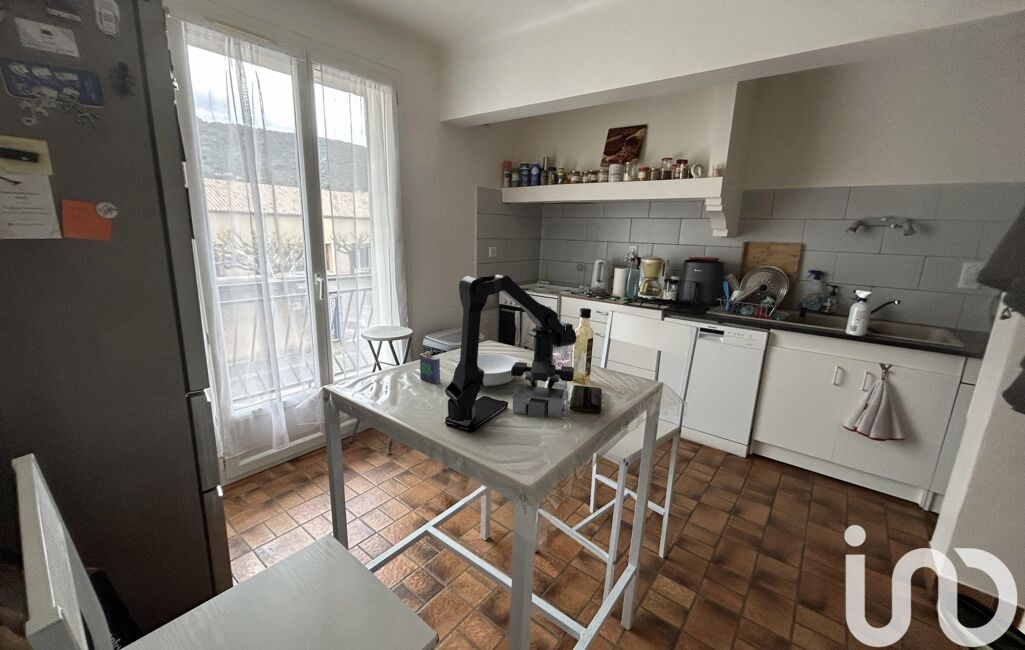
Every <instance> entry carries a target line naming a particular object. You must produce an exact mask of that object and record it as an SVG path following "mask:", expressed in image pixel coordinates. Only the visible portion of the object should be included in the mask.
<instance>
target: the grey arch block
mask: <svg viewBox="0 0 1025 650" xmlns="http://www.w3.org/2000/svg"><path fill="white" fill-rule="evenodd" d="M530 398H534V399H544V400H547V401H548V402H547V403H548V407H547V408H548V409H547V410H548V411H547V417H548V418H554V419H555V418H556V419H562V416H563V411H564V404H565V403H564V402H565V389H564V388H553V387H552V388H548V387H545V386H544V387H543V386H538V387H535V386H532V385H526V384H525V385H523V384H517V386H516V388H515V390H514V391H513V393H512V414H520V415H526V414H527V411H528V408H529V400H530Z"/></svg>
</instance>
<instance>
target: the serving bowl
mask: <svg viewBox="0 0 1025 650" xmlns="http://www.w3.org/2000/svg"><path fill="white" fill-rule="evenodd" d="M516 362H520V360H519V359H517V358H516V357H514V356H511V355H508V354H502V353H501V354H500V353H478V359H477V365H478V367H479V368H480V369H482V370H483V371H484V377H483V384H484V386H485V387H486V386H487V387H489V386H490V387H491V386H499V385H504V384H507V383H509V382H511V381H512V380H513V379H514V378H515V377H516V376H512V375H511V369H512V367H513V365H514V364H515V363H516Z"/></svg>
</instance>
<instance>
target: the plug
mask: <svg viewBox="0 0 1025 650" xmlns="http://www.w3.org/2000/svg"><path fill="white" fill-rule="evenodd" d="M547 401H548V400H544V399H534V398H530V400H529V407H528V409H527V411H528V414H527V415H528V417H532V418H541V419H543V418H545V415H546V412H547Z"/></svg>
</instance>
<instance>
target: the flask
mask: <svg viewBox="0 0 1025 650" xmlns="http://www.w3.org/2000/svg"><path fill="white" fill-rule="evenodd" d="M432 352H433V351H431V350H430V351H429V350H428V351H425V352H423V353H420V354H419V365H420V366H419V372H420V378H419V379H420V380H422V381H424V382H427V383H430V384H433V385H439V384H441V365H440V359H441V358H440V357H438V356H437V357H436V356H433V355H432Z"/></svg>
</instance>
